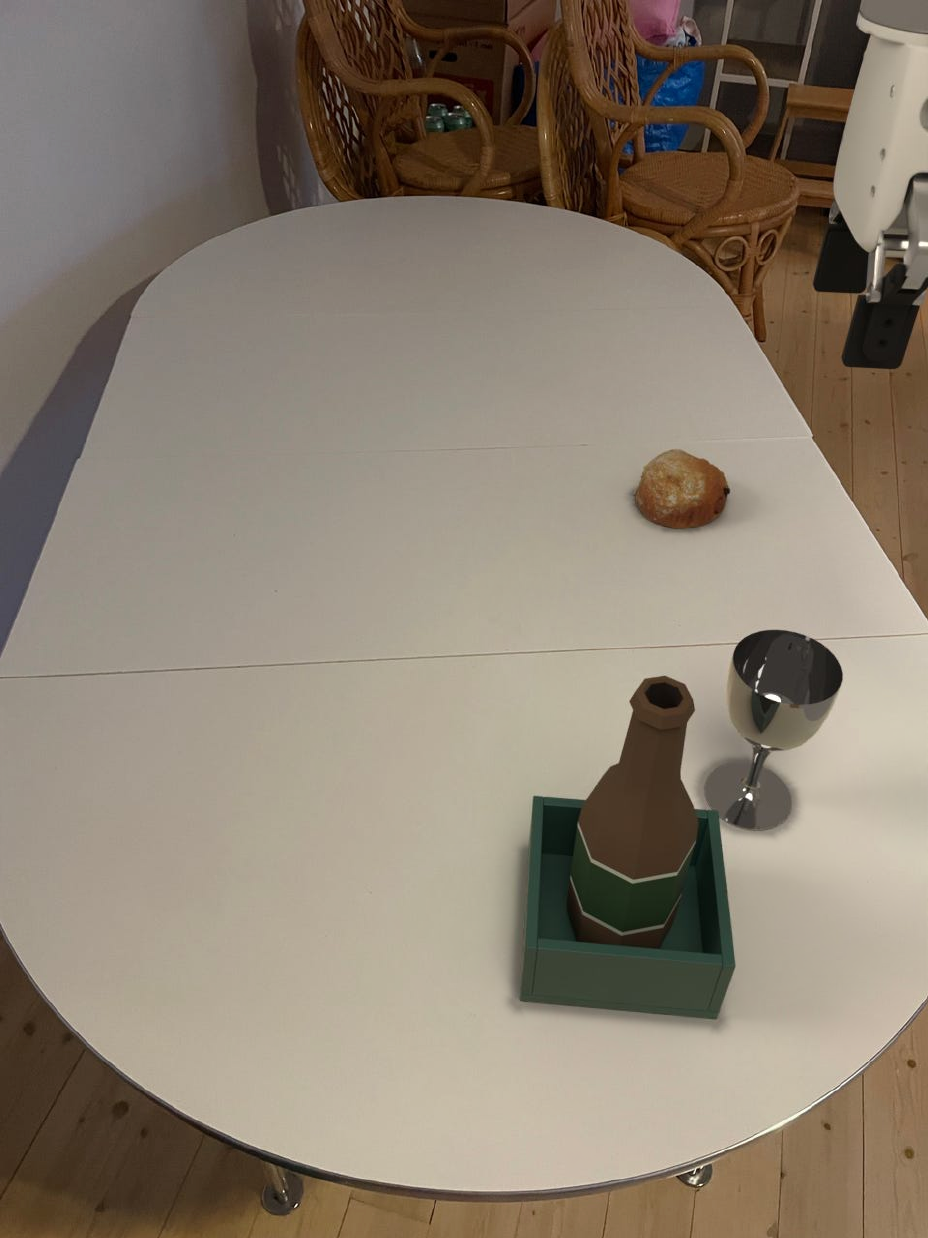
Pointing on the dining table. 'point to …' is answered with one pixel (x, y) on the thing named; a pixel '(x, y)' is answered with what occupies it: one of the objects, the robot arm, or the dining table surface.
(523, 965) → the tub
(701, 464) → the bread roll
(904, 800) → the dining table surface
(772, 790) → the wine glass
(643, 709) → the beer bottle
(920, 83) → the robot arm
